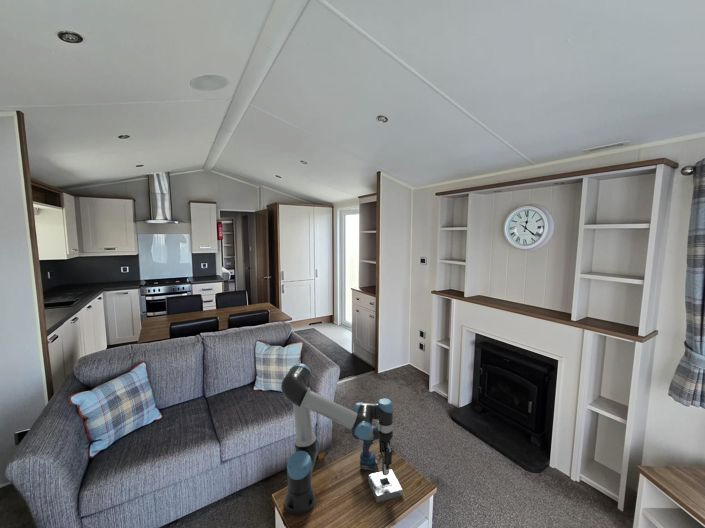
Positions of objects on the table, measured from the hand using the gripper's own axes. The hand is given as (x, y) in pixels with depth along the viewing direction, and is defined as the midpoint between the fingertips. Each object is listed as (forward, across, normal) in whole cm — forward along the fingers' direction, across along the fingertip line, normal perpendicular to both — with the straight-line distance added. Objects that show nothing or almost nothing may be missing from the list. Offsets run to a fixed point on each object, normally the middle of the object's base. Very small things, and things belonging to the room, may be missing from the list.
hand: (385, 470), depth 165 cm
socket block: (+10, 0, 0) cm, 10 cm away
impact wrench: (+10, +16, +2) cm, 19 cm away
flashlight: (+1, 0, 0) cm, 1 cm away
